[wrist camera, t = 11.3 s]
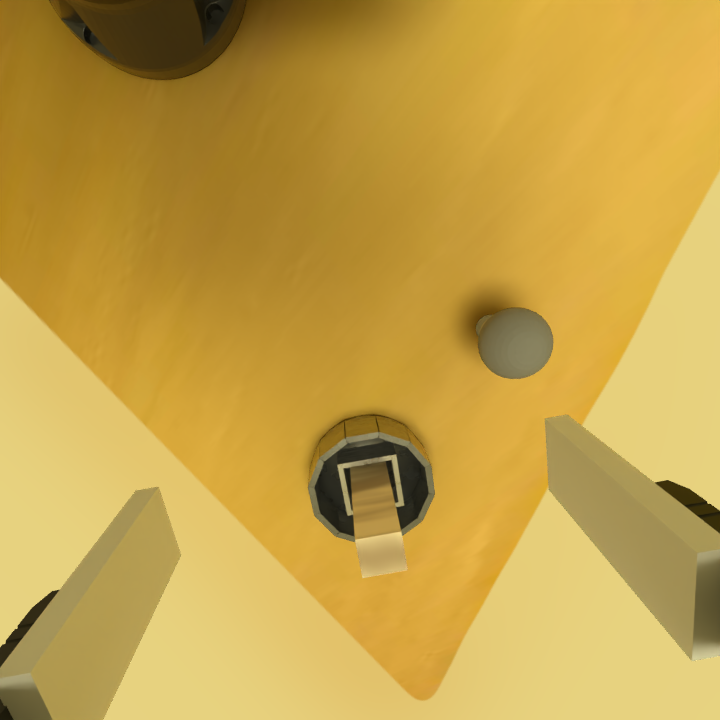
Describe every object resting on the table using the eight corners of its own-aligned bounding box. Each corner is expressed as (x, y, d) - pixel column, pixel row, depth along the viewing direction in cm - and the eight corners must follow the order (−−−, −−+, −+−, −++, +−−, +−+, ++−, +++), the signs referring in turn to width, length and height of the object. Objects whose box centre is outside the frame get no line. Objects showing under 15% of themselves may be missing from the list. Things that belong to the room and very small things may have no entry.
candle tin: (301, 426, 46) (298, 445, 42) (416, 405, 47) (425, 423, 42) (323, 525, 50) (322, 552, 45) (430, 506, 50) (440, 531, 46)
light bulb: (473, 366, 46) (510, 401, 36) (447, 315, 44) (478, 338, 35) (526, 337, 45) (578, 365, 36) (502, 285, 44) (549, 299, 34)
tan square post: (349, 458, 47) (354, 539, 35) (383, 452, 47) (401, 531, 35) (355, 488, 48) (362, 578, 36) (388, 482, 48) (407, 570, 36)
